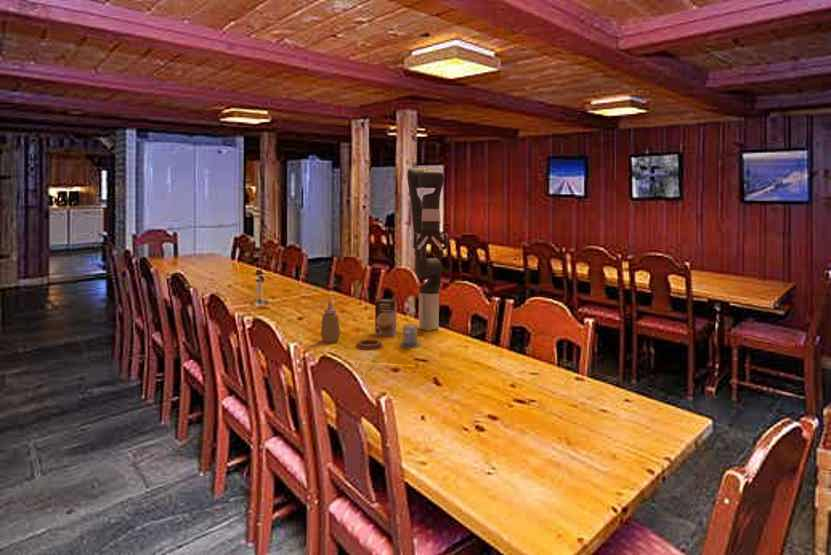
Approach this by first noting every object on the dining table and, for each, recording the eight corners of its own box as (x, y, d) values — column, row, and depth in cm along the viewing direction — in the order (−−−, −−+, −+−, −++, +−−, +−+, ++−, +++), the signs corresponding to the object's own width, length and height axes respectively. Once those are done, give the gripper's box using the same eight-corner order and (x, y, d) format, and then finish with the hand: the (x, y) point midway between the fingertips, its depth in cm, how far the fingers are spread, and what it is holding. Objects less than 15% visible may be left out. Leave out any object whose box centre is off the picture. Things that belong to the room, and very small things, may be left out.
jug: (404, 342, 235) (404, 324, 234) (417, 343, 234) (418, 324, 233) (399, 349, 225) (399, 330, 223) (413, 350, 224) (414, 331, 222)
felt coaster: (401, 342, 237) (401, 341, 237) (422, 343, 236) (422, 342, 236) (397, 348, 228) (397, 346, 228) (418, 349, 227) (418, 348, 227)
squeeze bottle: (336, 345, 231) (335, 303, 229) (318, 344, 233) (317, 302, 230) (342, 340, 239) (342, 299, 236) (325, 339, 241) (324, 298, 238)
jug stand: (359, 342, 236) (359, 337, 236) (386, 344, 234) (386, 339, 233) (350, 350, 224) (350, 345, 224) (379, 352, 222) (379, 347, 222)
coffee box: (374, 336, 246) (374, 301, 244) (376, 332, 253) (376, 298, 250) (394, 337, 246) (394, 301, 243) (396, 333, 252) (396, 298, 249)
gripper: (412, 219, 227) (411, 259, 230) (446, 220, 225) (446, 260, 227) (415, 219, 234) (415, 257, 237) (449, 219, 232) (448, 258, 234)
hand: (430, 258), depth 232 cm, fingers open, 8 cm apart
